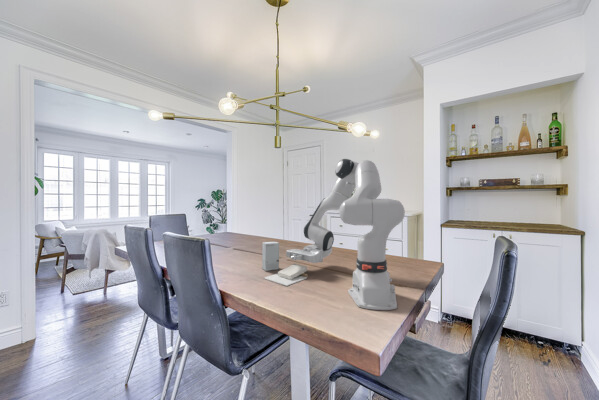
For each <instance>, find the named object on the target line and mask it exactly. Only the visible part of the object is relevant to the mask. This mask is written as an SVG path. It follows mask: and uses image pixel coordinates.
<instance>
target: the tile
mask: <svg viewBox="0 0 599 400" xmlns="http://www.w3.org/2000/svg"><path fill="white" fill-rule="evenodd" d="M307 271H308V267H307V266H304V265H301V264H297V263H293V264H291V265H289V266H287V267H285V268H283V269H281V270H279V271H277V273H278V276H280V277H283V278H286V279H290V280H291V279H293V278H295V277H297V276H299V275H300V274H302V273H306V272H307Z"/></svg>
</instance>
